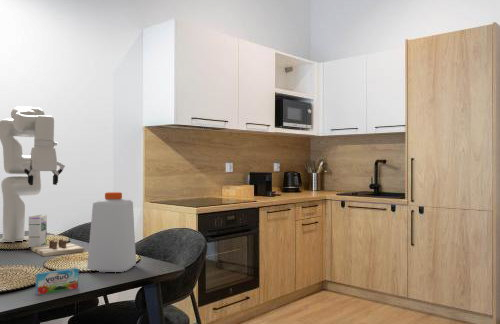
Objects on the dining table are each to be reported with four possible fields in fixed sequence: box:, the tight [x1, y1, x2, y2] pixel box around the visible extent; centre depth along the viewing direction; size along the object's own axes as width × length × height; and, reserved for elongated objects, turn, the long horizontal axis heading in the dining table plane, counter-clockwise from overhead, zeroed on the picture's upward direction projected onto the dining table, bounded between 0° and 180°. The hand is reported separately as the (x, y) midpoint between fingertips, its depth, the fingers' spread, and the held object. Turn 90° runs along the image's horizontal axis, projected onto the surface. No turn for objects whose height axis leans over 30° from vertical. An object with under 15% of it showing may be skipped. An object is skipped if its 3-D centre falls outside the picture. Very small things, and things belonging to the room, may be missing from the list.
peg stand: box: [30, 238, 85, 257], centre depth 196 cm, size 17×17×4 cm
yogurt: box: [35, 267, 80, 296], centre depth 134 cm, size 12×2×6 cm, turn 132°
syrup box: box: [27, 214, 48, 248], centre depth 205 cm, size 6×6×14 cm
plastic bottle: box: [86, 191, 137, 274], centre depth 165 cm, size 15×15×28 cm
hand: (43, 184), depth 191 cm, fingers open, 9 cm apart
